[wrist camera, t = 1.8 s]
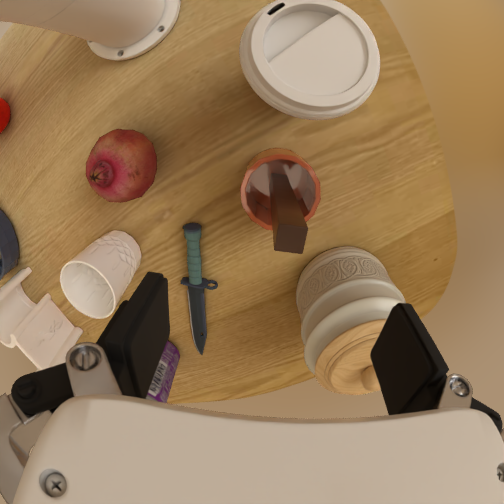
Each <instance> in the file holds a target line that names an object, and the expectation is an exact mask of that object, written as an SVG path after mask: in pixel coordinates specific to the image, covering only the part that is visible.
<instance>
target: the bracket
mask: <svg viewBox="0 0 504 504" xmlns="http://www.w3.org/2000/svg"><path fill="white" fill-rule="evenodd" d="M31 272H32V270H31V268H29V267H27V268H26V269H22V270H20V271H19V272H18V273H17V274H16V275H14V276H13V277H12V278H11V279H10V280H9V281H8V282H7V283H6V284H5V285H4V286H2V287H1V288H0V342H1V343H2V344H3V345H5V346H7V347H9V348H13V347H14V346H15V345H17V346H18V347H19V348H20V350H21V351H22V352H23V353H24V354H25V355H26V356H27V357H28V358H29V359H30V360H31V361H32V362H33V364H34V365H35V366H36V367H37V370H36V372H37V371H40V370H43V369H46V368H49V367H53V366H56V365H59V364H62V363H65V362H66V359H65V357H66V354H67V352H68V351H69V350H70V348H72V347H73V346H74V345H75V344H76V342H77V340H78V339H79V337H80V336H81V334H82V333H83V330H82V329H81V328H79V327H74V326H73V325H72V323H71V322H70V321H69V320H68V319H67V318H66V317H65V315H64V314H63V313H62V312H61V311H60V309H59V308H58V307H57V306H56V305H55V303H54V302H53V301H52V300H51V295H50V294H49V293H47V294H46V295H45V296H44V297H43V298H42V299H41V300H40V301H39V302H38V303H37V304H36V303H34V302H32V301H31V300H30V299H29V298H28V297H27V296H26V294H25V293H24V291H23V289H22V286H21V282H22V281H23V280H24V279H25V278H26V277H27V276H28V275H29V274H30V273H31Z"/></svg>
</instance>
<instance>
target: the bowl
mask: <svg viewBox="0 0 504 504" xmlns="http://www.w3.org/2000/svg"><path fill="white" fill-rule="evenodd" d="M0 254H1V259H0V280H1V279H3V278H4V277H5V276H6V275H7V274H8V273H9V272H10V271H12V270H13V269H14V268H15V266H16V265H17V263H18V259H19V247H18V242H17V237H16V235H15V232H14V229H13V227H12V225H11V223H10V221H9V219H8V218H7V216H6V215H5V214H4V213H3V211H2V210H1V209H0Z"/></svg>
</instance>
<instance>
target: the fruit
mask: <svg viewBox="0 0 504 504" xmlns="http://www.w3.org/2000/svg"><path fill="white" fill-rule="evenodd" d="M156 170H157V156H156V153H155V150H154V147H153V144H152V143H151V142H150V141H149V140H148V139H147V137H146V136H145V135H144V134H142V133H139V132H137V131H135V130H122V129H116V130H113V131H111V132H109V133H107V134H105V135H103V136H102V137H100V138H99V139H98V141H97V142H96V144H95V146H94V147H93V149H92V150H91V153H90V155H89V157H88V160H87V162H86V176H87V179H88V181H89V184H90V186H91V187H92V188H93V189H94V191H95V192H96V193H97V194H98V195H100V196H101V197H103V198H104V199H106V200H107V201H109V202H120V203H121V202H127V201H130V200H133V199H136V198H139V197H142V195H143V194H144V193H145V192H146V191H147V190H148V188H149V187H150V186H151V185H152V184H153V182H154V178H155V174H156Z"/></svg>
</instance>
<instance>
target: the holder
mask: <svg viewBox="0 0 504 504" xmlns="http://www.w3.org/2000/svg"><path fill="white" fill-rule="evenodd" d="M271 173H276V174H283V175H287V177H288V179H289V181H290V184H291V186H292V189H293V191H294V194H295V196H296V199H297V201H298V204H299V206H300V209H301V211H302V214H303V216H304V219H305V222H307V221H308V220H309V219H310V218H311V217H312V216H313V215H314V213H315V211H316V209H317V207H318V205H319V202H320V200H321V196H320V182H319V180H318V178H317V176H316V174H315V172H314V171H313V169H312V167H311V166H310V165H309V164H308V163H307V162H306V161H305V160H304V159H303V158H302V157H300V156H299V155H297V154H296V153H294V152H293V151H291V150H287V149H283V148H273V149H268V150H265V151H263V152H260V153H259V154H258V155H257V156H255V157H254V158H253V159H252V160H251V161H250V162H249V164H248V167H247V169H246V172H245V175H244V178H243V181H242V184H241V187H240V193H241V201H242V207H243V208H244V210H245V211H246V213H247V214H248V216H249V217H250V219H251V220H252V221H253V222H255V223H257V224H258V225H260V226H262V227H263V228H265V229H267V230H273V228H272V215H271V203H270V192H269V185H270V178H271Z"/></svg>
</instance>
